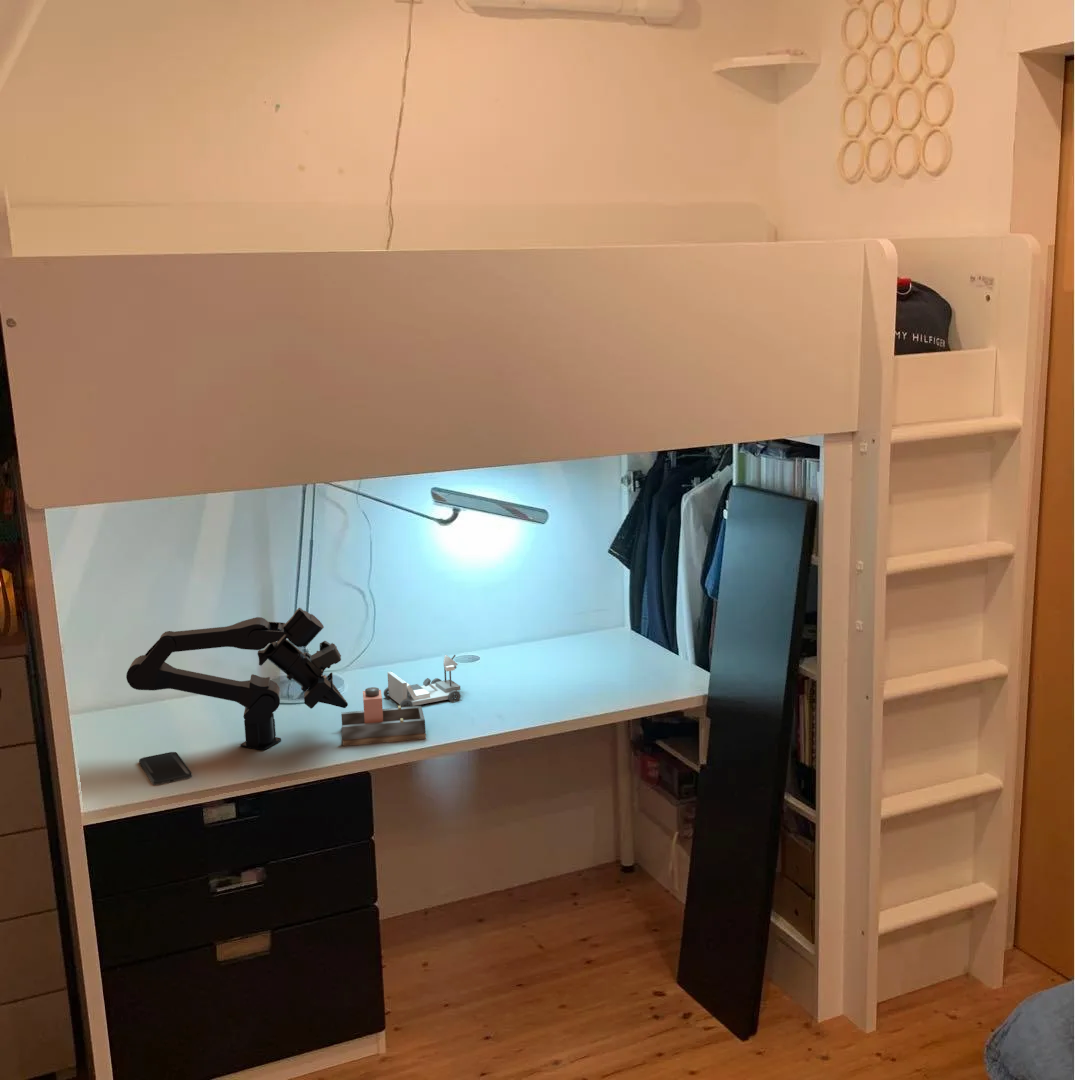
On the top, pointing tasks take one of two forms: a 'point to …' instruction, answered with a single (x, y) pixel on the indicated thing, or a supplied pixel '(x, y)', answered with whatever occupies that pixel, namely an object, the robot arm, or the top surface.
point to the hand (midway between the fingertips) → (346, 706)
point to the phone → (165, 768)
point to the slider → (372, 705)
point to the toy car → (423, 688)
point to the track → (384, 726)
